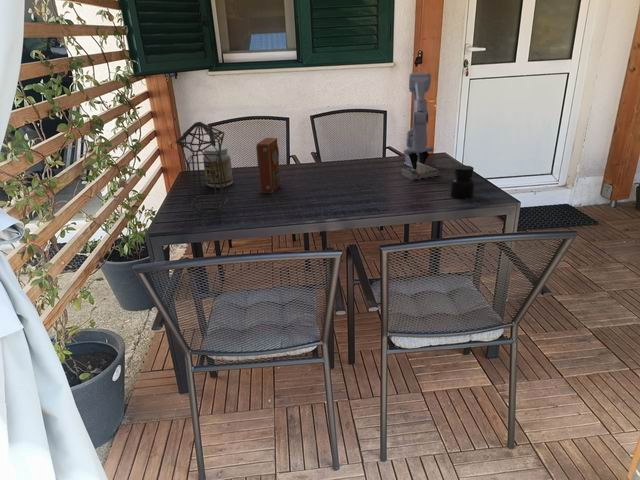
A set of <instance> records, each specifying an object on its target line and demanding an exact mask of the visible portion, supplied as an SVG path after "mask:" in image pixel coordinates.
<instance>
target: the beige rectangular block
mask: <svg viewBox="0 0 640 480" xmlns="http://www.w3.org/2000/svg"><path fill="white" fill-rule="evenodd" d="M424 164H425V163H424ZM424 164H422V163H420V162H417V167H416V169H413V167H411V169H412V170H414V171H416V172H418V173H425V172H426V164H425V165H424Z"/></svg>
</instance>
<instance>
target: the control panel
mask: <svg viewBox="0 0 640 480" xmlns="http://www.w3.org/2000/svg"><path fill="white" fill-rule="evenodd" d="M255 148H256V150H255V151H256V160H257V168H258V174H259V187H260V193H261V194H273V193H274V192H275V191H276V190H277V189H278V188H279V186H281V175H280V153H279V150H280V149H279V146H278V137H264V138H263V139H262V140H260V141H259V142H257V143H256V146H255Z"/></svg>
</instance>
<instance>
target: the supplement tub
mask: <svg viewBox="0 0 640 480" xmlns="http://www.w3.org/2000/svg"><path fill="white" fill-rule="evenodd" d="M214 146H215V148H216V149H217V151H218V150H219V151H220V149H219V145H214ZM214 146H213V145H211V146H209V147H208V148H206V149H204V150H203V152H204V154H218V152H217V151H216V149H215V148H214ZM228 151H229V150H228V147H227V146H224V145H221V159H222V164H223V170H224V175H225V180H226V185H227V187H228V186H231V185H232V184H233V183H234V182H233V181H234V179H233V169H232V161H231V160H232V159H231V155H230V153H228ZM206 156H207V157H208V158H209V160H210V161H211V162H213V161H216V158H218V157H217V155H206ZM209 160H208V159H207V158H206V157H205V156H204V155H202V161H203V162H209ZM220 165H221V161H220ZM212 166H213V172H214V179H215V185H216V189H217V188H219V189H220V186H219V180H218V175H217V170H216V164H215V163H212ZM217 167H218V172H219V178H220V183H221V176H220V168H219V161H218V160H217ZM203 168H204V175H205V183H206V185H207V187H210V188H214V182H213V176H212V169H211V163H203ZM221 173H222V181H223V188H226V187H225V182H224V177H223V172H222V167H221ZM221 188H222V184H221Z"/></svg>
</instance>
